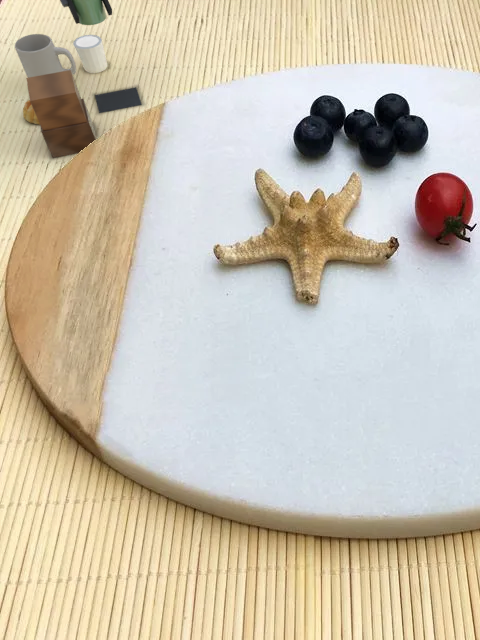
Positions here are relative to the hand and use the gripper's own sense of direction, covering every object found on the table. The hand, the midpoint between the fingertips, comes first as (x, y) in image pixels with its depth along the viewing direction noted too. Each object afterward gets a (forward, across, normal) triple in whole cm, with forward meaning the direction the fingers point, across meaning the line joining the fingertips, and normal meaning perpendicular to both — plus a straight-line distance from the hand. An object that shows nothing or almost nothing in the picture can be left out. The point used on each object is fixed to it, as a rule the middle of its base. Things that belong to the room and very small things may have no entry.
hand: (94, 16), depth 144 cm
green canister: (-1, 0, +4) cm, 4 cm away
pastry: (+12, -17, +19) cm, 28 cm away
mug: (+3, -11, +28) cm, 30 cm away
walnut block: (+20, -14, +10) cm, 27 cm away
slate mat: (+13, 0, +18) cm, 22 cm away
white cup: (+1, 0, +30) cm, 30 cm away
